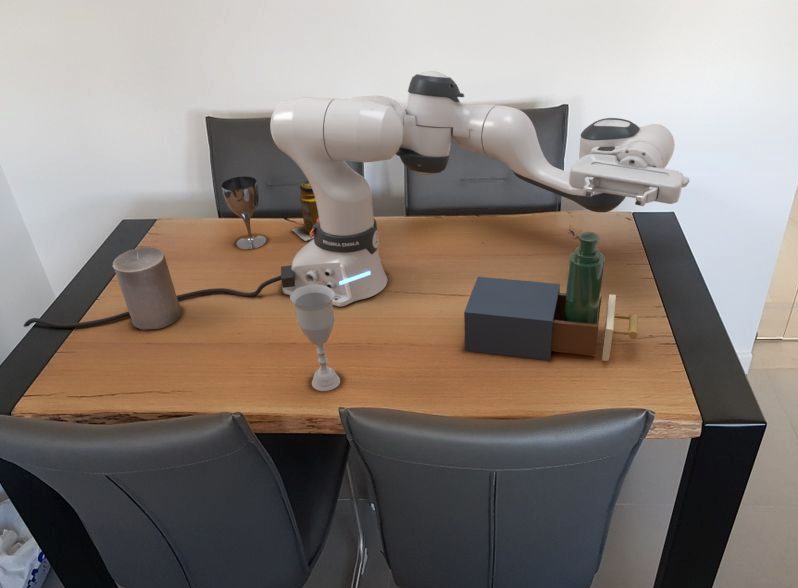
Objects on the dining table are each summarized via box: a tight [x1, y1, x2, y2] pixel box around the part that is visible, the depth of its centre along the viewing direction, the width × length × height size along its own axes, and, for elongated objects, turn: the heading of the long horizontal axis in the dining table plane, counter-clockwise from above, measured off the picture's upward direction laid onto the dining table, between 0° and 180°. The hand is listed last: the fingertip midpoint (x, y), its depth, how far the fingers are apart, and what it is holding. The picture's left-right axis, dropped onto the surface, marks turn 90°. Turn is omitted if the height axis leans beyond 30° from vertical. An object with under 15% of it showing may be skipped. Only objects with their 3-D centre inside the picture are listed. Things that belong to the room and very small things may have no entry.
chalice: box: [289, 285, 341, 392], centre depth 121 cm, size 7×7×18 cm
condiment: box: [291, 180, 319, 242], centre depth 171 cm, size 7×8×12 cm
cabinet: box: [463, 276, 561, 361], centre depth 132 cm, size 16×13×9 cm
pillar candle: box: [112, 246, 182, 331], centre depth 141 cm, size 10×10×15 cm
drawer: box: [551, 292, 639, 362], centre depth 129 cm, size 19×11×7 cm, turn 75°
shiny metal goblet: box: [221, 175, 267, 250], centre depth 167 cm, size 8×8×15 cm
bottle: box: [564, 231, 606, 324], centre depth 125 cm, size 6×6×20 cm
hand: (613, 197), depth 126 cm, fingers open, 8 cm apart
